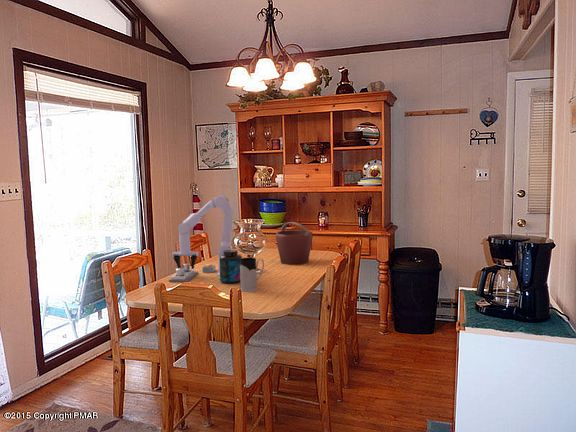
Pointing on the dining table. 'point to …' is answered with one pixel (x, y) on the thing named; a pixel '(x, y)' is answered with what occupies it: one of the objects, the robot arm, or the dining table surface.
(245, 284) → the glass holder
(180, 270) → the seated billet
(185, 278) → the pallet board
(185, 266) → the billet
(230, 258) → the container
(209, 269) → the console
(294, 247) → the bucket
